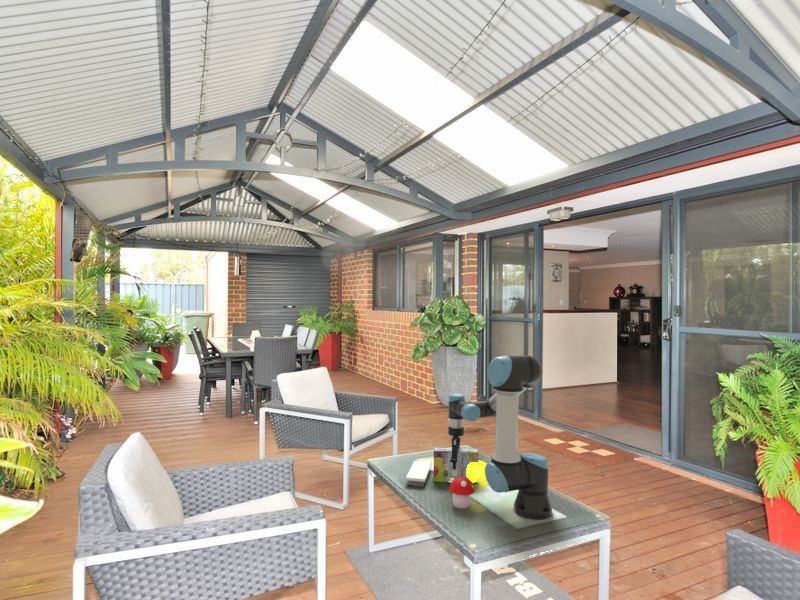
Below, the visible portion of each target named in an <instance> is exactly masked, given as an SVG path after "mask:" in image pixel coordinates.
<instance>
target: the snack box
mask: <svg viewBox="0 0 800 600" xmlns="http://www.w3.org/2000/svg"><path fill="white" fill-rule="evenodd" d="M451 459H452V447H451V448H449V447H433V482H436V483H437V482H438V483H449V482H448V481H450V478H454V479H456V478H458V477H466V468H467V465H468V464H469V463H470V462H478V463H479V450H478V449H475V448H460V449H458V455H457V462H458V464H457V476H451V467H452V462H450V460H451ZM453 460H456V459H453Z"/></svg>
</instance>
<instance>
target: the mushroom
mask: <svg viewBox="0 0 800 600" xmlns="http://www.w3.org/2000/svg"><path fill="white" fill-rule="evenodd" d="M449 483H450V486H449V491H450V492H451V493H452V496H451V497H452V503H453V507H454V508H457V509H460V510H466V509H468V508H469V507H470V505H471V504H470V503H471V495H473V494H474V493H475V492H476V489H475V485H474V483H472V482H471V481H470V480H469V479H468V478H467V477H458V478H456V479H454V478H450V482H449Z"/></svg>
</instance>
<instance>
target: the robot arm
mask: <svg viewBox="0 0 800 600" xmlns="http://www.w3.org/2000/svg"><path fill="white" fill-rule="evenodd" d="M487 367H488V368H487V379H488V382H489V384H490V385H491V386H492V390H493V391H494V392H495V393H494V394H493V395H492V396H490V398H488V399H487V400H482V401H473V402H472V401H466V399H465V395H464V394H463V393H450V394H449V395H448V418H447V419H446V420H447V422H448V427H447V428H448V429H447V433H448V435H449V436H451V448H452V459H451V460H450V462H452V467H451V476H457V464H458V462H457V455H458V449H461V437H462V436H464V435H465V421H469V422H476V421H477V420H478V419H483V418H484V419H485V418H495V448H494V452H493V453H492V454H491V456H490V457H491V458H490V459H491V460H490V461H489V462H487V463H486V464H485V468H484V475H485V478H486V482H487V483H488V486H489V487H490V489H492V490H493V492H494V493H495V492H496V493H498V494H499V493H500V494H501V493H508V492H514V491H517V493H516V496H515V500H514V501H513V502H514V503H513V511H514V512H515V513H516V514H517V515H520V516H522V517H523V518H528V519H533V520H544V519H548V518H550V517H552V514H553V507H552V503H551V501H550V498H549V494H548V493H549V492H548V491H549V462H548V461H549V460H548V459H547V458H546V457H545V456H543V455H540V454H539V453H538V454H537V453H533V452H520V453H519V454H518V433H519V402H520V401H519V400H520V399H519V398H520V395H521V394H522V393H524V392H525V391H526V390H527V389H532V388H533V387H534V386H536V385H537V384H538V383H539V382H540V380H541V379H542V377H543V367H542V365H541V362H540V361H539V360H538V359H537V358H535V357H534V356H532V355H528V354H525V355H524V354H523V355H502V356H496V357H493V359H492V360H491V361H490V363H489V364H488V366H487ZM453 459H456V460H453Z"/></svg>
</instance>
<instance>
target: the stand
mask: <svg viewBox="0 0 800 600" xmlns="http://www.w3.org/2000/svg"><path fill="white" fill-rule="evenodd" d="M432 465H433V462H432V461H425V460H413V463H412V464H411V467H410V468H409V470H408V473H407V475H406V477H405V481H408V483H407V485H413V486H412V487H419V486H420V487H421V488H424V486H425V484H426V482H427V478H428V475H429V472H430V470H431V468H432Z"/></svg>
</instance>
